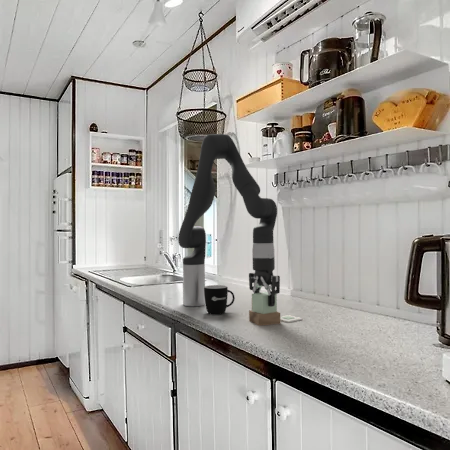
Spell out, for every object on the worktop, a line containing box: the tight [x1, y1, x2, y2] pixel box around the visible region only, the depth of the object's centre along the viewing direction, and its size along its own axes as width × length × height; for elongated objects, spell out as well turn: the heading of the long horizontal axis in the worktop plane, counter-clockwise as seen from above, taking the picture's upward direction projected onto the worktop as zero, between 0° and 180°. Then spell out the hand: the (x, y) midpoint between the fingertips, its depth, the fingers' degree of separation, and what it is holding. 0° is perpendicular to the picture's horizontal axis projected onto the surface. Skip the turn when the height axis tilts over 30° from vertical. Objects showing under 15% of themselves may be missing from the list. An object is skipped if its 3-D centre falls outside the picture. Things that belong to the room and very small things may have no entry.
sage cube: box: [251, 291, 278, 314], centre depth 147 cm, size 6×6×6 cm
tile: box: [280, 314, 303, 323], centre depth 150 cm, size 7×7×1 cm
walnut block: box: [248, 310, 282, 327], centre depth 147 cm, size 8×8×4 cm
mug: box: [204, 284, 236, 316], centre depth 164 cm, size 12×9×10 cm
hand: (264, 304), depth 147 cm, fingers open, 7 cm apart
